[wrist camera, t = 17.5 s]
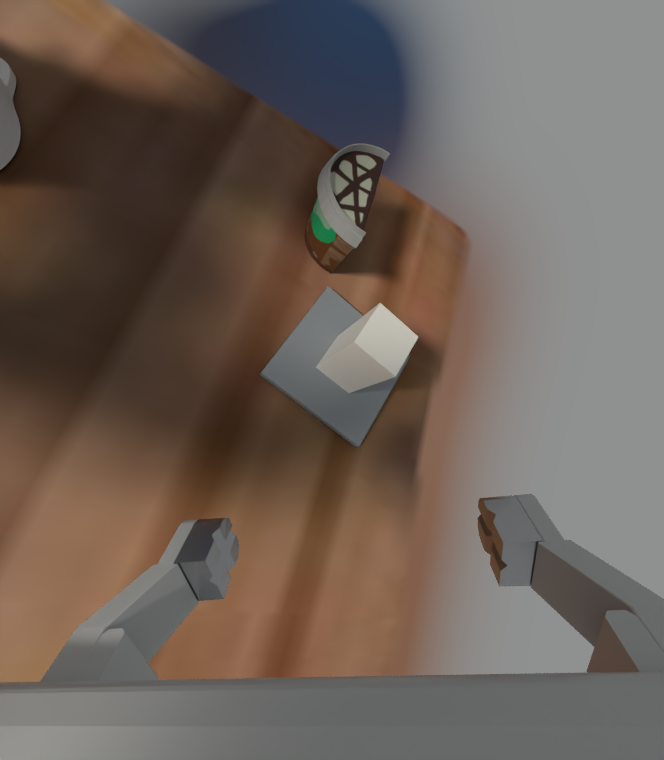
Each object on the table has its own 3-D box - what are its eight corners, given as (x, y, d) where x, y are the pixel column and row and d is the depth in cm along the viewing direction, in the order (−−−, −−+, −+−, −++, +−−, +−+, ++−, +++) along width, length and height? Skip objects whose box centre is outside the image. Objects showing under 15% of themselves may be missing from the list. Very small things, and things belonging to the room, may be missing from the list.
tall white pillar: (315, 367, 38) (353, 341, 29) (337, 335, 40) (380, 302, 31) (348, 393, 39) (395, 376, 30) (368, 361, 41) (418, 336, 32)
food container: (311, 185, 44) (342, 117, 35) (351, 209, 46) (391, 149, 36) (282, 260, 40) (308, 205, 31) (327, 283, 42) (365, 237, 33)
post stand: (259, 374, 36) (275, 356, 29) (325, 289, 41) (353, 255, 34) (355, 446, 39) (392, 446, 32) (406, 358, 44) (447, 340, 37)
